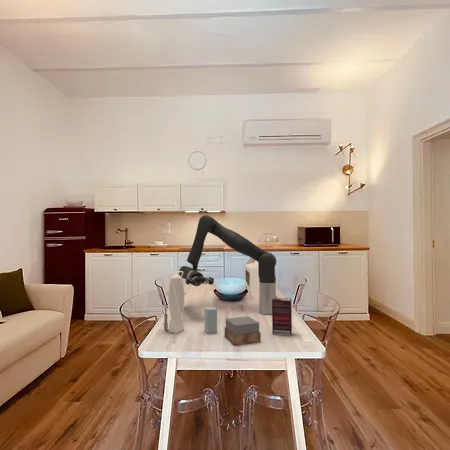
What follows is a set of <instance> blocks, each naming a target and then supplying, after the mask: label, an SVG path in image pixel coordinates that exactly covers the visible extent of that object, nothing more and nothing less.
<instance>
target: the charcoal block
mask: <svg viewBox="0 0 450 450" xmlns="http://www.w3.org/2000/svg"><path fill="white" fill-rule="evenodd" d="M225 327H226V328H227V329H228V330H229V331H231V332H232V333H233V334H234V335H241V334H249V333H257V332H260V322H259V321H257V320H255V319H254V318H252V317H250V316H249V315H247V316H239V317H238V316H237V317H229V318H228V317H227V318H225Z"/></svg>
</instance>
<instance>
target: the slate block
mask: <svg viewBox="0 0 450 450" xmlns="http://www.w3.org/2000/svg"><path fill="white" fill-rule="evenodd" d="M204 332H205V334H207V335H212V334H218V308H217V307H216V306H209V307H208V306H206V307H204Z"/></svg>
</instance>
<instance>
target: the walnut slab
mask: <svg viewBox="0 0 450 450" xmlns="http://www.w3.org/2000/svg"><path fill="white" fill-rule="evenodd" d="M224 338H225V339H226V340H228V341H229V343H231V345H232V346H234V347H235V346H242V345H244V346H245V345H251V344H259V343H261V331H259V332H257V333H249V334H241V335H234V334H233V333H232V332H231V331H229V330H228V329H227V328H226V326H225V327H224Z"/></svg>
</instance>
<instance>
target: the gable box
mask: <svg viewBox="0 0 450 450" xmlns="http://www.w3.org/2000/svg"><path fill="white" fill-rule="evenodd" d="M245 280H246V282H247V288H246V290H247V291H249V293H258V292H257V291H259V275H258V262H257V261H256V260H254V259H253V258H251V257H249V259H248V260H247V261H246V264H245V265H244V281H245Z"/></svg>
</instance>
